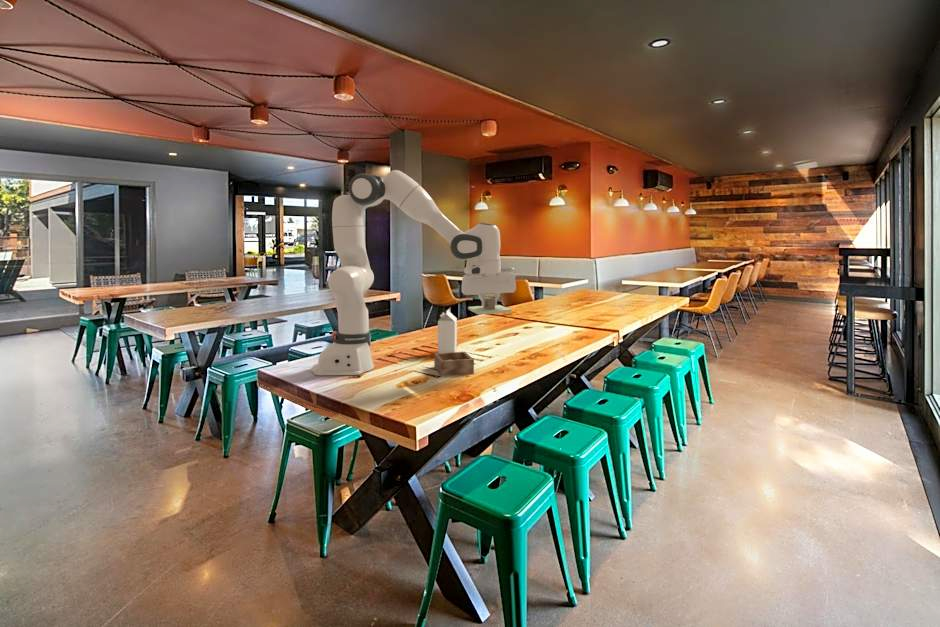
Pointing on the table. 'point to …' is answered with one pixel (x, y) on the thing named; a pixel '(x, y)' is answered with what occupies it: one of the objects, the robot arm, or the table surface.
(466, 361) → the walnut box
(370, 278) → the robot arm
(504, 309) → the lid
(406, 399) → the table surface
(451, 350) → the milk carton
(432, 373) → the table surface
